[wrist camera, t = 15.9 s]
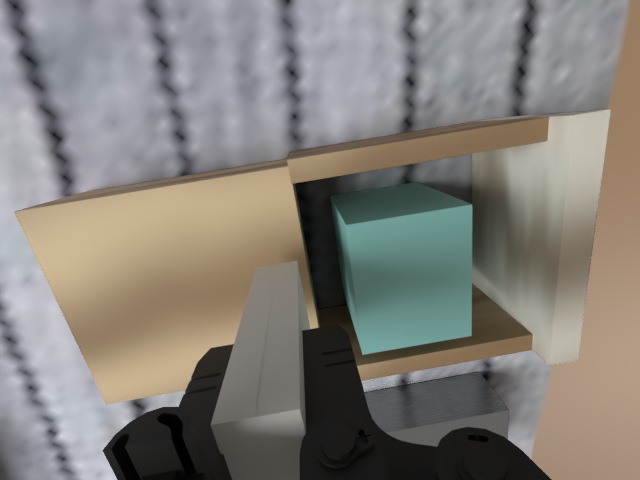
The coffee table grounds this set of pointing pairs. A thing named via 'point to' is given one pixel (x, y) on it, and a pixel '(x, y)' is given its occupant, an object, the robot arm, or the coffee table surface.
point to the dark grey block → (438, 408)
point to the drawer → (289, 245)
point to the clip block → (405, 265)
